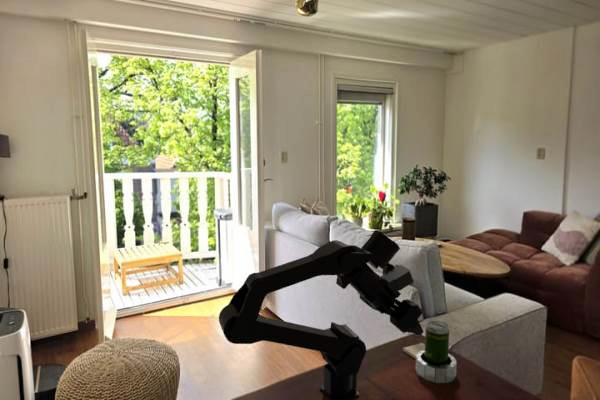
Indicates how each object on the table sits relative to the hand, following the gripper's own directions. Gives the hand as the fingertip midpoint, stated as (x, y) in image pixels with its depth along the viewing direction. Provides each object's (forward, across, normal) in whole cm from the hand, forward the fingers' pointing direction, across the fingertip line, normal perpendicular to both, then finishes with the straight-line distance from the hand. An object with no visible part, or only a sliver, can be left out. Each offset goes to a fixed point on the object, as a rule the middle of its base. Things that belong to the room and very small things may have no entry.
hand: (410, 324), depth 96 cm
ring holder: (+15, 0, +4) cm, 15 cm away
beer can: (+15, 0, +4) cm, 15 cm away
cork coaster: (+16, +9, +3) cm, 18 cm away
